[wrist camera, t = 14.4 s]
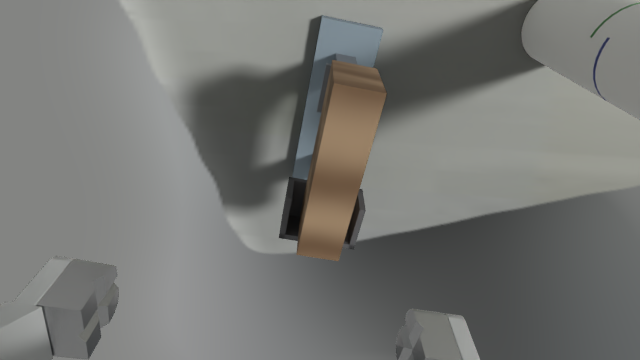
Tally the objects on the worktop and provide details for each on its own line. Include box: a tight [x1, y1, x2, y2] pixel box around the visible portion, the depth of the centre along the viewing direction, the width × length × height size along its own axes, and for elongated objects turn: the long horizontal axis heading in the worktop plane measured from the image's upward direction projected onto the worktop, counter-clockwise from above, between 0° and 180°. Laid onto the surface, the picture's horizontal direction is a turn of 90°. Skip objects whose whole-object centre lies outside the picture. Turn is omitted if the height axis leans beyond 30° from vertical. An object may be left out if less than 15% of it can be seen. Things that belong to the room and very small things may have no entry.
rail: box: [297, 60, 387, 261], centre depth 33 cm, size 15×4×6 cm, turn 169°
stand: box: [279, 15, 383, 249], centre depth 39 cm, size 18×7×13 cm, turn 169°
